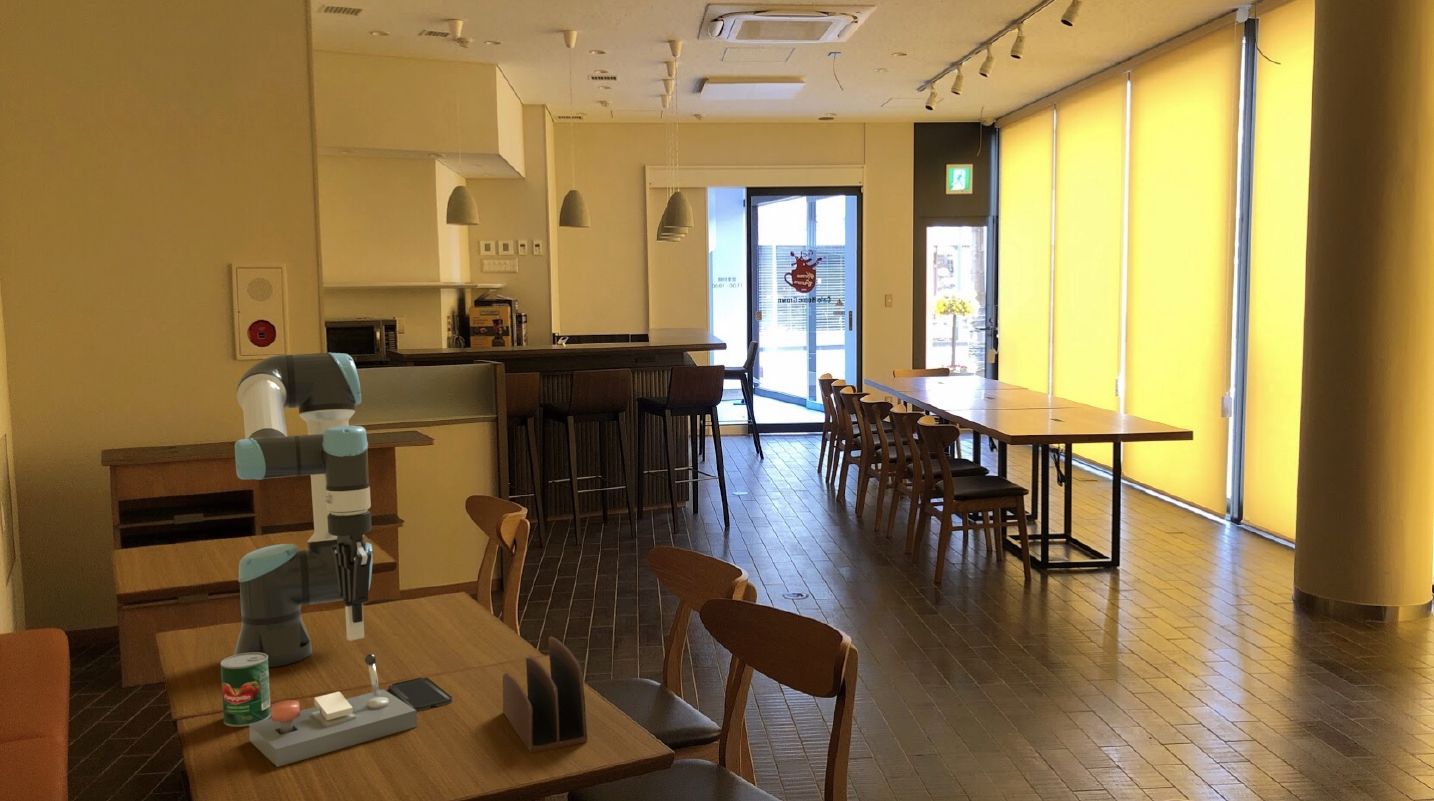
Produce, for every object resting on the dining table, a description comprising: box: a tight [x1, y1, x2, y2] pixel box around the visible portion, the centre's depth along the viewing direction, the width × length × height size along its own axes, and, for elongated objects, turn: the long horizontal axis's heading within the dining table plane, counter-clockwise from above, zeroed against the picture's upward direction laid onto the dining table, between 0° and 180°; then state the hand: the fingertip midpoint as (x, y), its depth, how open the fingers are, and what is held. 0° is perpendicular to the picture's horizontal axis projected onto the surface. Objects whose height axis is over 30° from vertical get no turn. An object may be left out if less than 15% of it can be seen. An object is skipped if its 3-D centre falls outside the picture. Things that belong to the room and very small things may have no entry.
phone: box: [388, 676, 453, 712], centre depth 203 cm, size 8×1×15 cm
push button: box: [270, 699, 301, 735], centre depth 180 cm, size 4×4×5 cm
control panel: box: [248, 689, 418, 768], centre depth 185 cm, size 14×24×4 cm, turn 130°
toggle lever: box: [364, 653, 381, 696], centre depth 191 cm, size 2×2×7 cm
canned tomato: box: [219, 652, 272, 728], centre depth 193 cm, size 8×8×11 cm
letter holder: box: [502, 636, 588, 753], centre depth 186 cm, size 10×20×14 cm, turn 24°
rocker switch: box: [313, 691, 353, 720], centre depth 185 cm, size 6×4×2 cm
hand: (355, 638), depth 196 cm, fingers closed
